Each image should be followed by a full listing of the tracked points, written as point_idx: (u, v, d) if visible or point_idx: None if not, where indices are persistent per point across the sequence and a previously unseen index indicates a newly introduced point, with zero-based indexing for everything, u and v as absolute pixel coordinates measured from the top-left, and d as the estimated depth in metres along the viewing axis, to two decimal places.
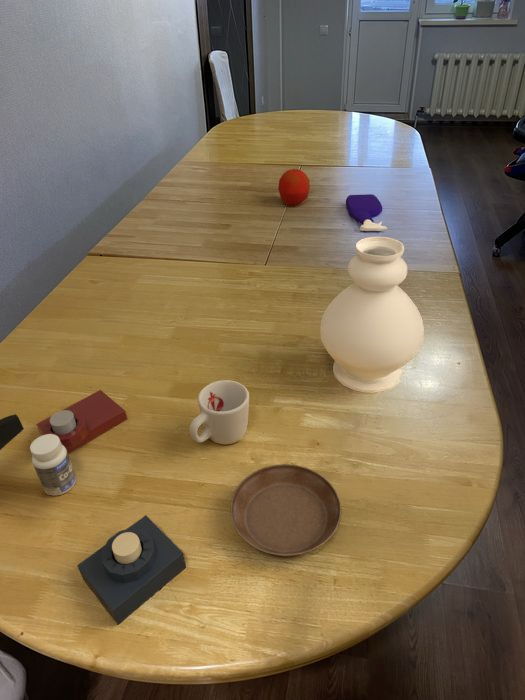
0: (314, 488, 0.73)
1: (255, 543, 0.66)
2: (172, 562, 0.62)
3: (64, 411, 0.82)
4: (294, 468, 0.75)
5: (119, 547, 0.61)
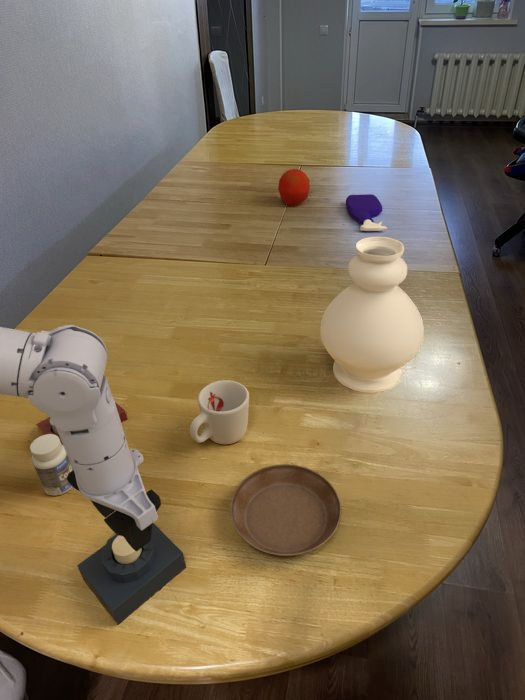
0: (314, 488, 0.73)
1: (255, 543, 0.66)
2: (172, 562, 0.62)
3: None
4: (294, 468, 0.75)
5: (119, 547, 0.61)
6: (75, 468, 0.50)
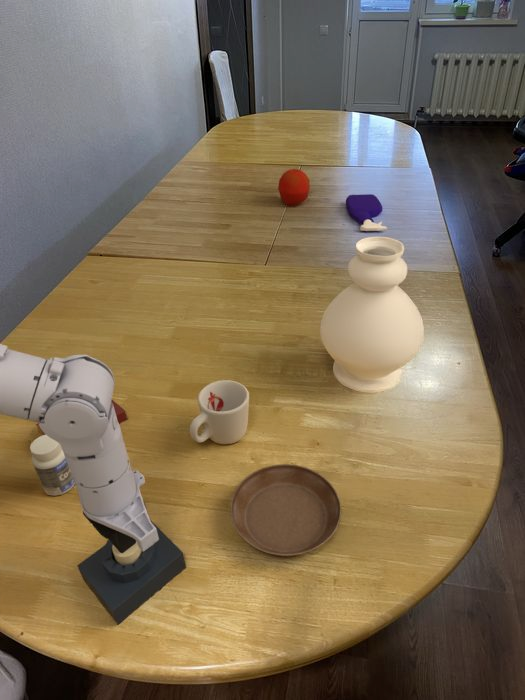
0: (314, 488, 0.73)
1: (255, 543, 0.66)
2: (172, 562, 0.62)
3: None
4: (294, 468, 0.75)
5: None
6: (80, 490, 0.52)
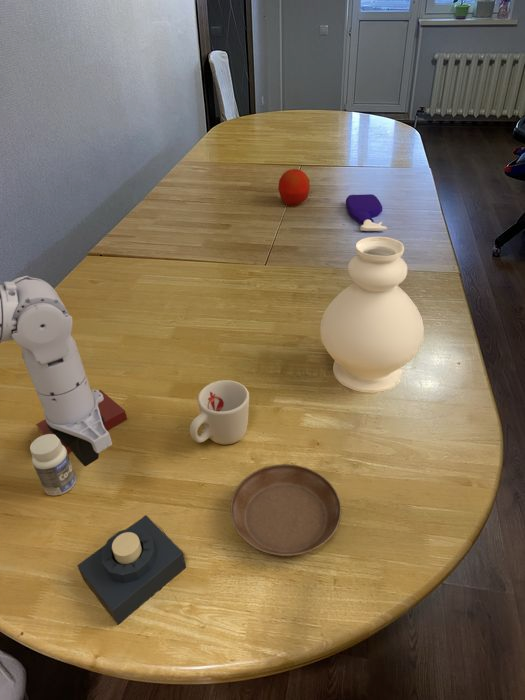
0: (314, 488, 0.73)
1: (255, 543, 0.66)
2: (172, 562, 0.62)
3: None
4: (294, 468, 0.75)
5: (119, 547, 0.61)
6: (41, 399, 0.59)
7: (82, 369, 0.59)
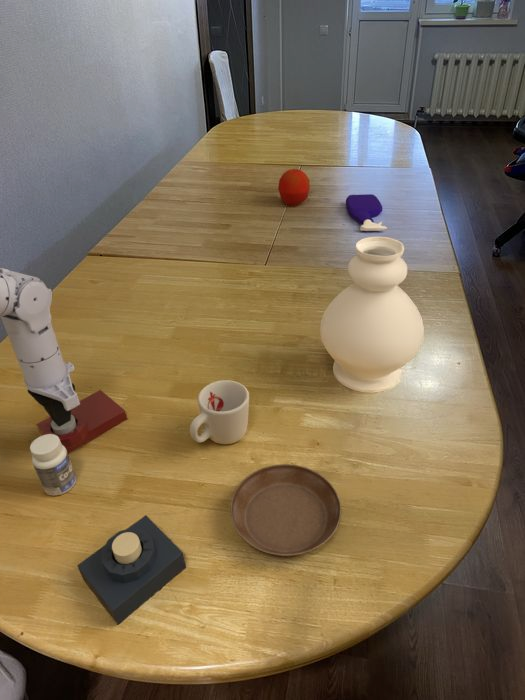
0: (314, 488, 0.73)
1: (255, 543, 0.66)
2: (172, 562, 0.62)
3: None
4: (294, 468, 0.75)
5: (119, 547, 0.61)
6: (22, 366, 0.72)
7: None
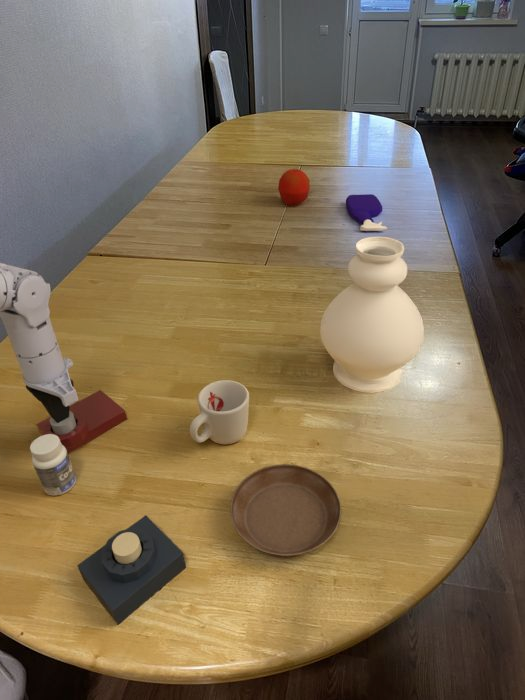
0: (314, 488, 0.73)
1: (255, 543, 0.66)
2: (172, 562, 0.62)
3: None
4: (294, 468, 0.75)
5: (119, 547, 0.61)
6: (20, 362, 0.71)
7: None
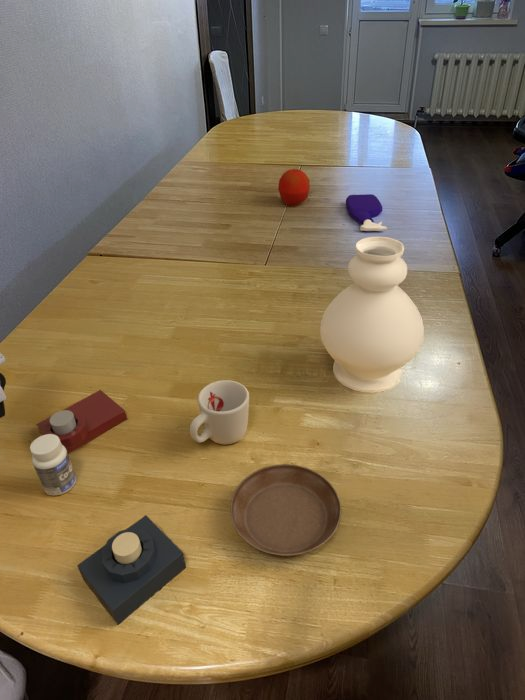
0: (314, 488, 0.73)
1: (255, 543, 0.66)
2: (172, 562, 0.62)
3: (64, 411, 0.82)
4: (294, 468, 0.75)
5: (119, 547, 0.61)
6: None
7: None
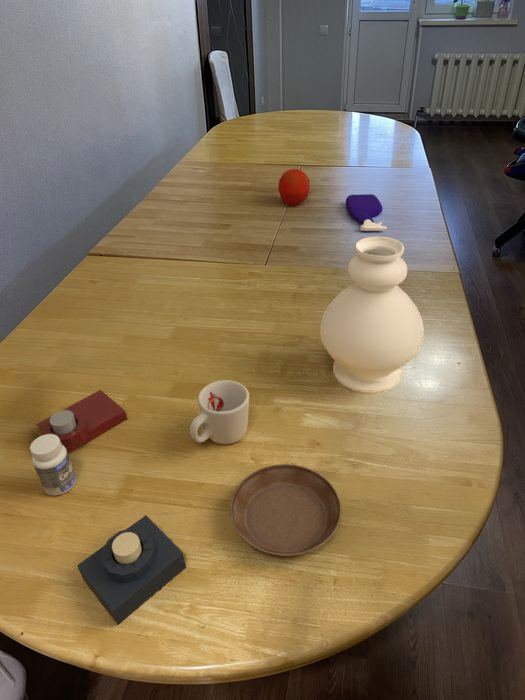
0: (314, 488, 0.73)
1: (255, 543, 0.66)
2: (172, 562, 0.62)
3: (64, 411, 0.82)
4: (294, 468, 0.75)
5: (119, 547, 0.61)
6: None
7: None
